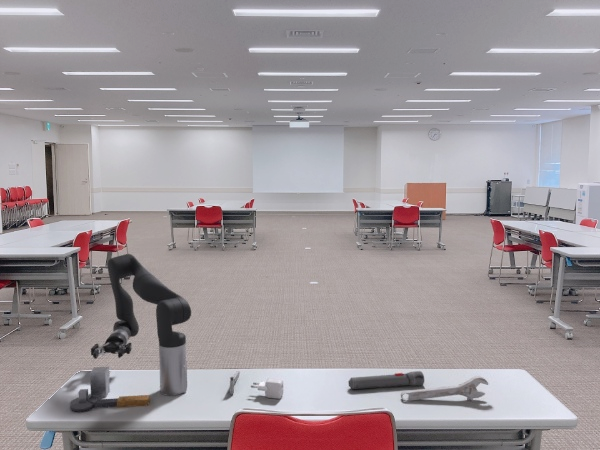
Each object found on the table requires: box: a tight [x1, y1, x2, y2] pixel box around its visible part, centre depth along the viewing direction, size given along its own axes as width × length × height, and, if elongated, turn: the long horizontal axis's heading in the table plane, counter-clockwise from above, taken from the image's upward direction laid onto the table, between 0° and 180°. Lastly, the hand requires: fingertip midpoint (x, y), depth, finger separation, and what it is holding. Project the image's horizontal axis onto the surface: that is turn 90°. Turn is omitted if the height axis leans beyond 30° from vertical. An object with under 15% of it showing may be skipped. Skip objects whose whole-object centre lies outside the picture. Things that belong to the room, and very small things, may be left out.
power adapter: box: [250, 377, 284, 400], centre depth 168 cm, size 11×5×6 cm, turn 76°
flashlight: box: [347, 370, 425, 390], centre depth 176 cm, size 5×28×5 cm, turn 100°
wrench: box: [400, 375, 489, 402], centre depth 165 cm, size 8×2×30 cm
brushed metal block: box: [89, 366, 111, 399], centre depth 169 cm, size 5×5×9 cm
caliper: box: [229, 370, 241, 396], centre depth 178 cm, size 20×1×6 cm, turn 0°
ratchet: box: [69, 388, 151, 413], centre depth 161 cm, size 25×8×6 cm, turn 98°
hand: (107, 355), depth 179 cm, fingers open, 8 cm apart
